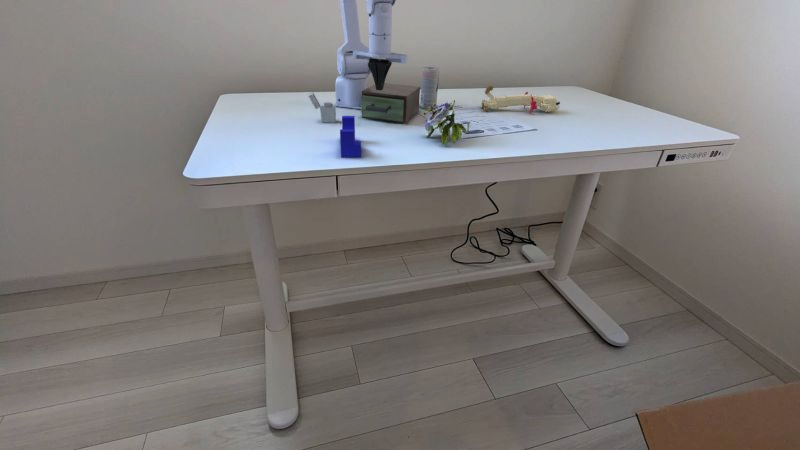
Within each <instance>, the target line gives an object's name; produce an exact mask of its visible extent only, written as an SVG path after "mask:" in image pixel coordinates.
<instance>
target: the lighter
mask: <svg viewBox="0 0 800 450" xmlns="http://www.w3.org/2000/svg"><path fill="white" fill-rule="evenodd" d="M307 97H308V98H309V100H310V101H311V103H312V105H313V107H314V109H315V110H317V109H319V110H320V123H322V124H323V123H324V124H325V123H326V124H330V123H332V124H333V123H334V124H336V123H337V111H336V106H335V105H334V104H333V103H332V102H323V105H321V104H320V103H319V100H318V99H317V97H316V95H315V93H314V92H313V91H311V92H310V93H308V95H307Z"/></svg>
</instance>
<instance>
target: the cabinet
mask: <svg viewBox="0 0 800 450" xmlns="http://www.w3.org/2000/svg"><path fill="white" fill-rule="evenodd" d="M362 95H366V96H367V95H374V96H383V97H391V98H400V99H404V113H403V121H402V122H401V121H393V120H386V119H378V118H370V117H363V116H362V115H361V118H363V119H369V120H378V121H382V122H383V121H384V122H391V123H399V124H407V123H408V122H409V121H410V120H411V119H412V118H413V117H415V116H416V115H417V114H418V113H419V112H420V98H421V86H416V85H415V86H414V85H405V84H397V83H389V82H388V83H387V82H384V87H383V90H376V86H375V84H372V85H371V86H369V87H366V89H365V90H363V91H362Z"/></svg>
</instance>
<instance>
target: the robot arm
mask: <svg viewBox="0 0 800 450" xmlns="http://www.w3.org/2000/svg"><path fill="white" fill-rule="evenodd" d="M396 1H397V0H365V3H366V13H367V14H368V46H367V45H366V44H364V43H363V42H362V41H361V31H360V21H359V14H358V3H357V0H339V5H340V13H341V22H342V23H341V24H342V31H343V38H344V39H343V41H344V43H342V45H341V46H340V47H338V49H337V51H336V68H337V72H338V73H339V75H338V76H337V77H336V79H335V84H334V87H335V88H334V89H335V104H334V106H335V107H340V108H348V109H354V110H355V109H356V110H361V96H362V91H363V90H365V89H367V78H369V75H370V74H371V75H372V79H373V83H374V85H375V86H376V90H383V87H384V83H386V79H387V76H388V73H389V70H390V68H391V67H392V64H393V63H397V64H403V65H405V64H408V54H402V53H396V52H392V29H393V28H392V22H393V21H392V20H393V7H394V5H395V3H396Z"/></svg>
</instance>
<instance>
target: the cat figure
mask: <svg viewBox="0 0 800 450" xmlns="http://www.w3.org/2000/svg"><path fill="white" fill-rule="evenodd" d="M493 90H494V86H493V85H492V84H490V85H489V84H488V86H487V87H486V88H485V90H484V95H486V97H487V98H489V100H486V99H485V98H484V99H481V109H483V112H488V109H489V108H490V110H498V109H501V108H508V107H521V106H522V107H523V108H524V109H523V110H526V107H530V110H529V111H528V113H529V114H531V113H532V112H533V111H534V110H537V109H538V108H539V109H540V110H541V111H543V112H545V113H547V112H548V113H549V112H554V111H558V109H559V108H561V106H560V105H561V102H560V101H559V100H558V99H557V98H556V97H555V96H553V95H551V94H544V95H543V94H542V95H538V94H535V95H534V94H530V95H529V91H525V93H524V94H512V95H504V96H494V95H493V94H492V93H491V92H492V91H493Z"/></svg>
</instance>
